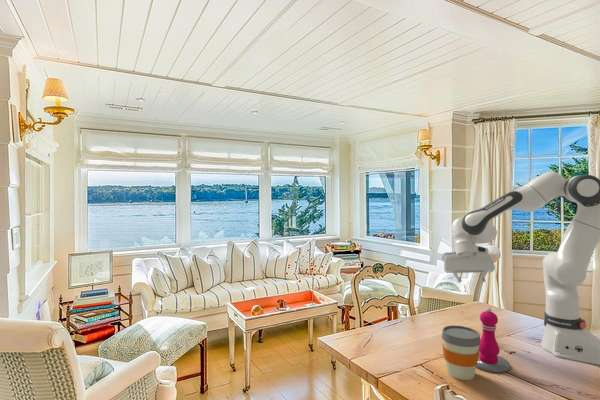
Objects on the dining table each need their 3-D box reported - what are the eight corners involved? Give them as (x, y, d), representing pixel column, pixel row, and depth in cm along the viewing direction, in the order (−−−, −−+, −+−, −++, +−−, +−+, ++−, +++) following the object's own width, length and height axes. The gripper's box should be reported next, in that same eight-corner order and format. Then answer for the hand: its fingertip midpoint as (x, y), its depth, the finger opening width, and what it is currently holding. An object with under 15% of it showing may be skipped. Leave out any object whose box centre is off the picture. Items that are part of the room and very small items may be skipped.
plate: (513, 362, 134) (513, 359, 134) (504, 377, 124) (504, 373, 124) (473, 351, 143) (473, 348, 143) (462, 364, 133) (462, 360, 133)
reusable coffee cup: (435, 373, 126) (435, 331, 126) (450, 361, 135) (450, 322, 135) (472, 387, 117) (472, 342, 117) (485, 373, 126) (485, 331, 126)
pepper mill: (502, 365, 129) (503, 311, 129) (481, 364, 130) (481, 310, 130) (495, 356, 136) (495, 305, 136) (475, 355, 138) (475, 304, 137)
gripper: (441, 249, 159) (446, 279, 151) (492, 248, 154) (499, 279, 146) (440, 255, 164) (444, 284, 156) (489, 254, 159) (495, 284, 151)
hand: (471, 281), depth 151 cm, fingers open, 8 cm apart
